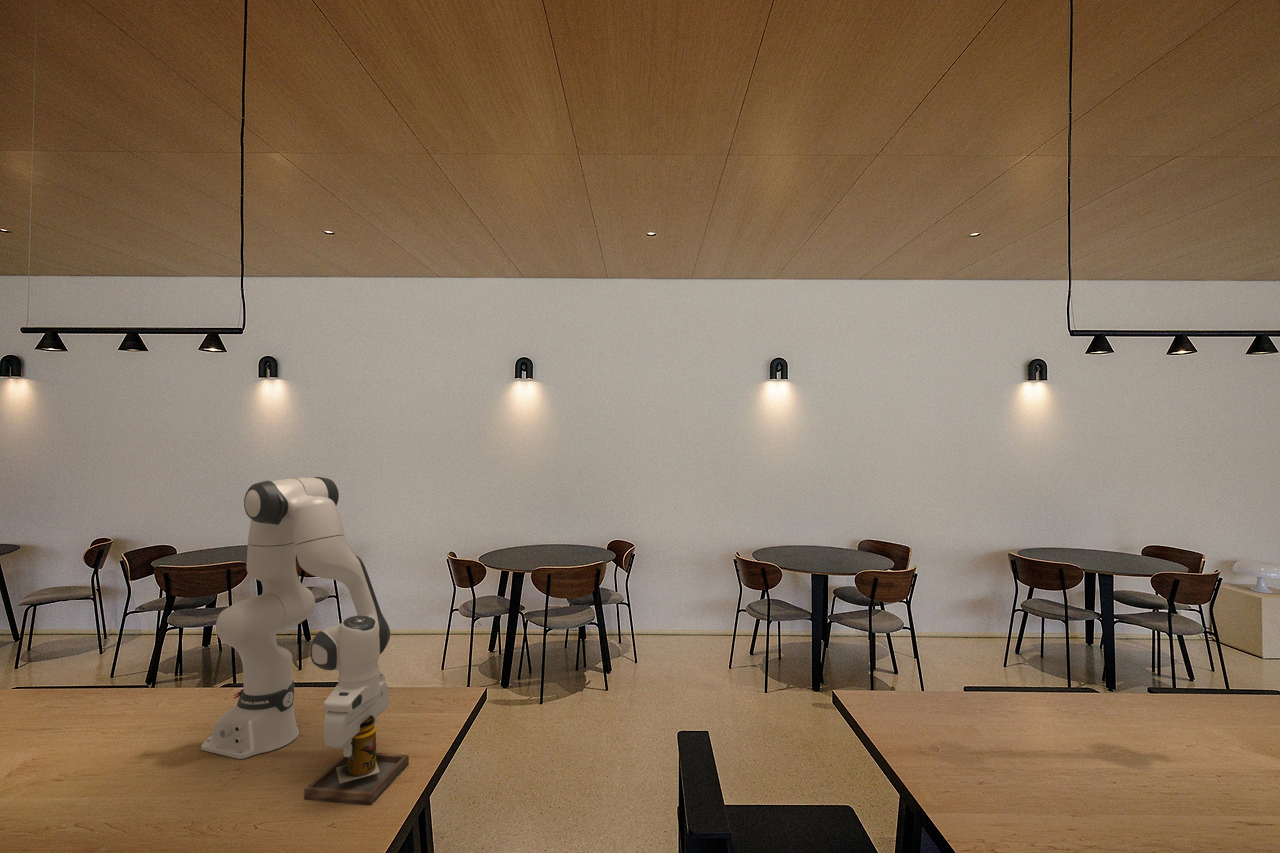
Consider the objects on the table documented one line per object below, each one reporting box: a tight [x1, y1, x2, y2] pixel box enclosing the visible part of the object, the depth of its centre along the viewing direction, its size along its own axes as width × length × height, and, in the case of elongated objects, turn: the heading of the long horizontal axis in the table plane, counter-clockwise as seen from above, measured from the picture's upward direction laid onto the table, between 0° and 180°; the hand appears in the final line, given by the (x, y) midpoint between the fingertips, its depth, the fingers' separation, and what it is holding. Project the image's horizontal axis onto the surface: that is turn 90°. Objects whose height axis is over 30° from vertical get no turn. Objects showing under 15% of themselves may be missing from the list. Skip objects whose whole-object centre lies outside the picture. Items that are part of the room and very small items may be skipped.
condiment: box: [336, 715, 380, 783], centre depth 139 cm, size 7×8×12 cm
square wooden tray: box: [303, 752, 410, 806], centre depth 139 cm, size 16×16×2 cm
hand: (358, 746), depth 139 cm, fingers closed on condiment, 6 cm apart
